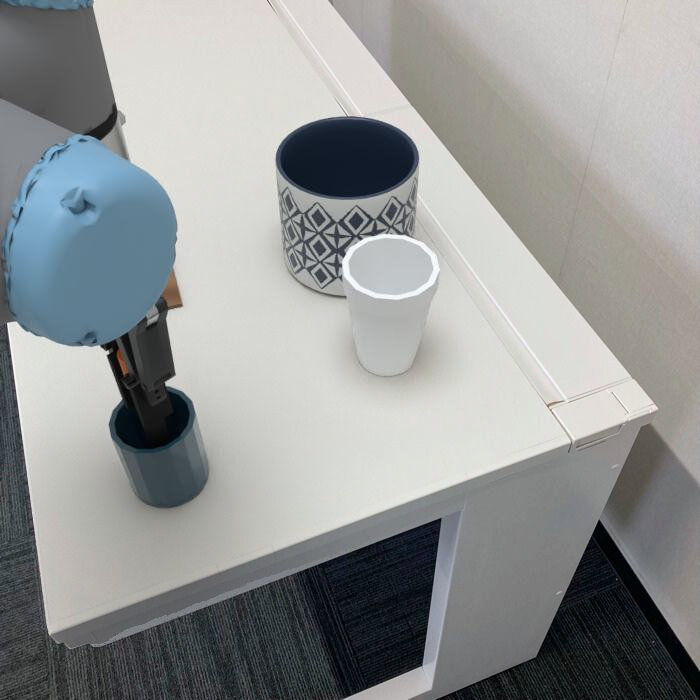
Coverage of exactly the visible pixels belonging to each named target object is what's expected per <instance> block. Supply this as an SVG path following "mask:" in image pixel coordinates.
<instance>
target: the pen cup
mask: <svg viewBox="0 0 700 700" xmlns="http://www.w3.org/2000/svg"><path fill="white" fill-rule="evenodd" d="M166 388H167V391H168V395H169V398H170V402H171V405H172V408H173V413H171V414H170V415H168V416H167V417H165V422H166V425H167V428H168V431H169V434H170V438H171V441H172V442H171V443H169V444H167V445H165V446H162V447H158V448H155V449H150V447H149V444H148V441H147V438H146V435H145V432H144V430H143V427H142V424H141V421H140V418H139V415H138V412H137V410H136V407H133V408H132V409H130V410H129V409H128V408H127V407H126V406H125V405H124V402H123V399H122V398H121V400H120V401H119V402H118V404H117V405H116V406H115V407H114V409H113V410H112V412H111V415H110V418H109V422H108V429H109V434H110V439H111V440H112V441H111V442H112V443H113V446H114V448H115V450H116V453H117V456H118V458H119V460H120V462H121V465H122V467H123V470H124V472H125V475H126V477H127V480H128V482H129V485H130V487H131V489H132V490H133V492H134V495H136V497H137V498H138V499H139V500H140V501H141V502H142V503H144V504H147V506H151V507H154V508H157V509H158V508H159V509H170V508H175V507H180V506H182V505H185V504H186V503H188V502H190V501H192V500H193V499H194V498H196V497H197V496H198V495H200V493H201V492H202V491H203V489H204V487H205V486H206V485H207V482H208V479H209V477H210V464H209V460H208V455H207V451H206V448H205V443H204V440H203V436H202V433H201V432H202V431H201V428H200V424H199V420H198V416H197V413H196V409H195V406H194V402H193V401H192V399H191V398H190V396H188V395H187V394H186V393H185V392H184V391H183V390H180V389H178V388H175V387H172V386H170V385H166Z"/></svg>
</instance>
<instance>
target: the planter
mask: <svg viewBox="0 0 700 700" xmlns="http://www.w3.org/2000/svg"><path fill="white" fill-rule="evenodd" d="M274 159H275V160H274V162H275V163H274V164H275V176H276V187H277V188H276V189H277V199H278V209H279V221H280V230H281V231H280V232H281V241H282V251H283V258H284V262H285V265H286V267H287V269H288V270H289V272H290V273H291V275H292V276H293V277H294V278H296V280H297V281H299V282H300V283H302V285H304V286H306V287H308V288H310V289H311V290H314V291H316V292H317V291H318V292H320V293H322V294H328V295H333V296H341V297H342V296H343V297H347V296H346V295H345V294H344V288H343V281H342V261H343V259H344V257H345V255H346V253H347V252H348V250H349V248H350V247H352V246H353V245H355V244H356V243H358V242H360V241H361V240H363V239H364V238H368V237H373V236H377V235H382V234H392V235H405V236H408V237H410V238H413V239H415V231H416V219H417V218H416V216H417V204H418V189H419V177H420V176H419V174H420V153H419V149H418V147H417V144H416V143H415V142H414V140H413V139H412V138H411V136H409V135H408V134H407V133H406V132H404V131H403V130H402V129H400V128H398V127H396V126H395V125H393V124H391V123H388V122H385V121H383V120H379V119H376V118H370V117H364V116H353V115H347V116H345V115H343V116H341V115H340V116H333V117H326V118H321V119H317V120H314V121H310V122H308V123H305V124H303V125H301V126H300V127H297V128H296V129H294V130H293V131H291V132H290V133H289V134H288V135H286V136H285V137H284V138H283V139H282V140H281V143H280V144H279V145H278V146H277V150H276V152H275V158H274Z"/></svg>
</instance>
